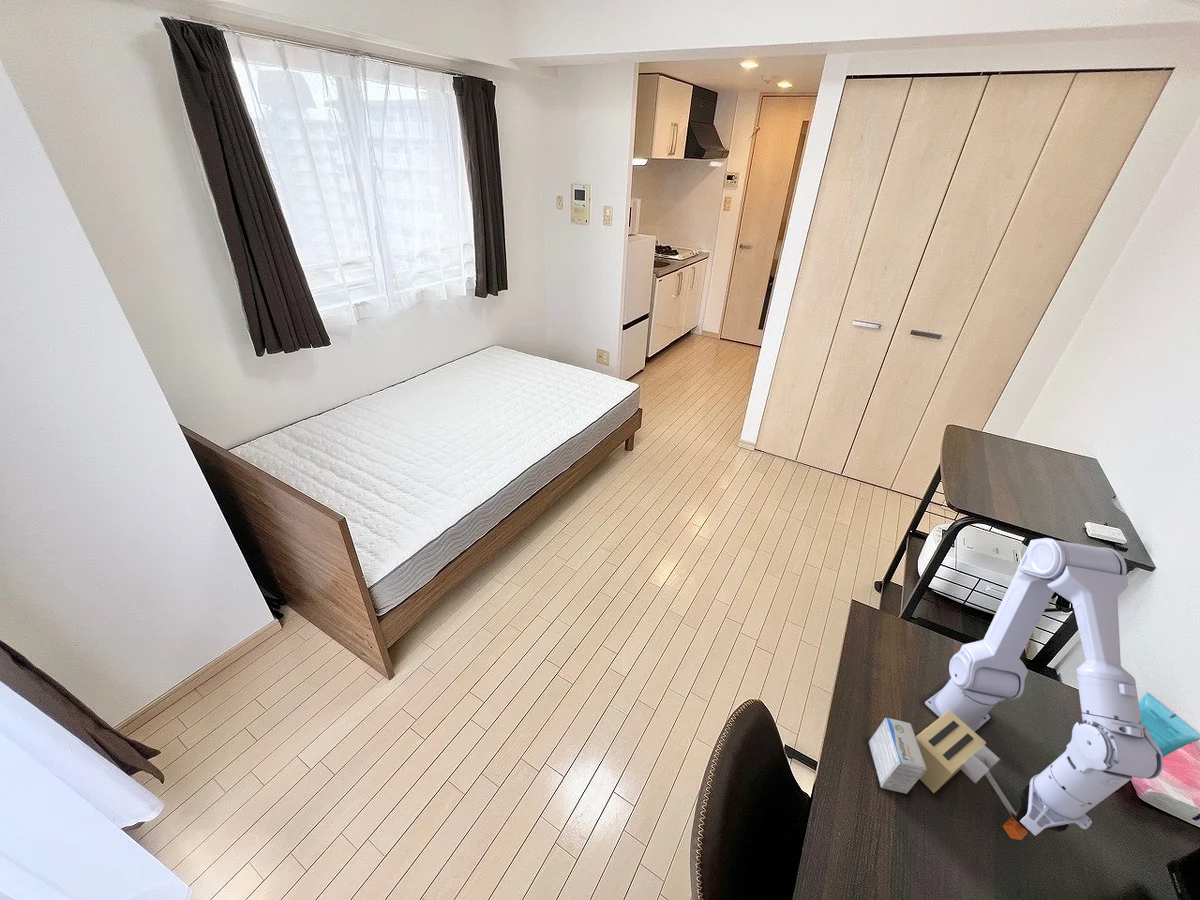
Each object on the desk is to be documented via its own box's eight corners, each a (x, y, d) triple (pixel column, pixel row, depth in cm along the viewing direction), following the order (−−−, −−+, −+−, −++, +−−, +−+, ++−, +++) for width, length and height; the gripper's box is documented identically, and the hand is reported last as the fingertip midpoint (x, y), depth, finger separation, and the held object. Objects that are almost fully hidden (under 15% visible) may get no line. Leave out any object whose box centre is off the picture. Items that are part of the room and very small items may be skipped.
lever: (979, 753, 82) (989, 753, 81) (1024, 823, 78) (1035, 824, 77) (964, 766, 80) (974, 766, 79) (1010, 838, 76) (1021, 840, 75)
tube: (1132, 788, 86) (1212, 731, 76) (1116, 798, 84) (1196, 741, 74) (1085, 747, 92) (1154, 688, 82) (1069, 755, 90) (1137, 696, 80)
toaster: (932, 730, 92) (955, 702, 87) (982, 776, 86) (1010, 749, 81) (898, 757, 87) (920, 729, 82) (948, 809, 81) (976, 782, 76)
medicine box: (906, 795, 82) (928, 770, 78) (879, 788, 83) (899, 763, 78) (892, 747, 89) (912, 722, 84) (867, 741, 89) (885, 716, 85)
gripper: (1087, 840, 63) (1031, 879, 70) (1130, 784, 69) (1074, 825, 76) (1026, 786, 68) (979, 828, 75) (1071, 738, 74) (1024, 781, 81)
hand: (1024, 823), depth 76 cm, fingers closed, pressing on lever
